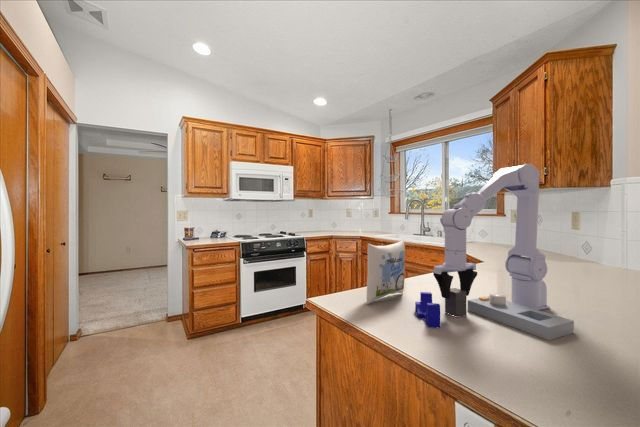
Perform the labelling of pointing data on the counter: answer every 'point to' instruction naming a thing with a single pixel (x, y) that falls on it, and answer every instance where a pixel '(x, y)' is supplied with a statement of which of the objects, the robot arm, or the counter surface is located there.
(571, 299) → the counter surface
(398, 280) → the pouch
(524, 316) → the power strip
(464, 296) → the plug
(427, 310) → the cable clip
